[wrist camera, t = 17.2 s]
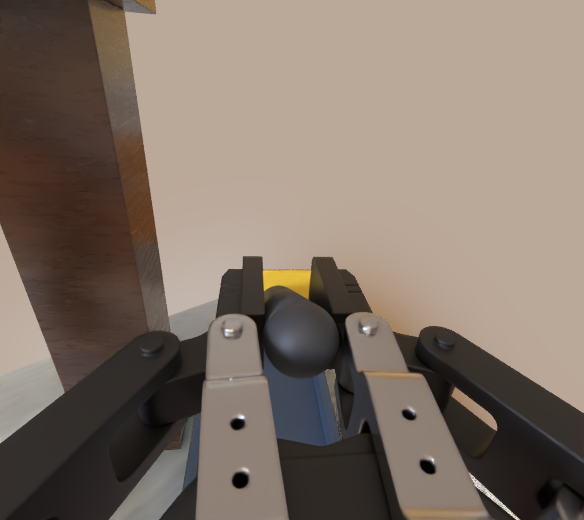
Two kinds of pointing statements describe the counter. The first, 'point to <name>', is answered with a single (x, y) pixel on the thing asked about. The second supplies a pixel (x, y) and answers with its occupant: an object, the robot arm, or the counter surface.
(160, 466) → the counter surface
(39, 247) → the wooden pedestal stand
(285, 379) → the tray
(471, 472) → the robot arm
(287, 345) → the sponge brush
